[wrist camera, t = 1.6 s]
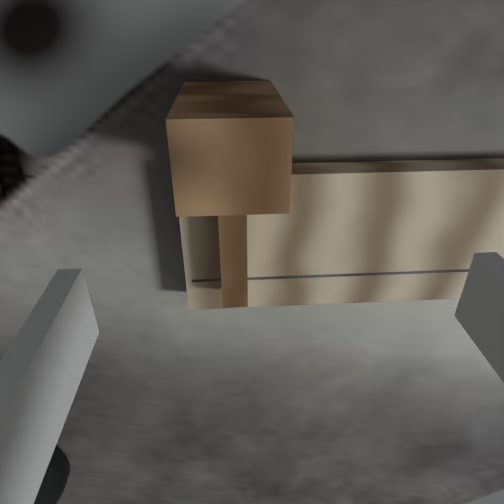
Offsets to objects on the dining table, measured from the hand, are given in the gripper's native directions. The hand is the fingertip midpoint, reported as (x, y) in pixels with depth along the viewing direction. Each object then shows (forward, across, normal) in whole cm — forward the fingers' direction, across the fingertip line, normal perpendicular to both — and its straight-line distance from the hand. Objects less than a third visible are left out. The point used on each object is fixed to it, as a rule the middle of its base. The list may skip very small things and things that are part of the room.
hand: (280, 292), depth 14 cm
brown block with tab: (+19, -2, -4) cm, 20 cm away
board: (+19, +9, -8) cm, 23 cm away
